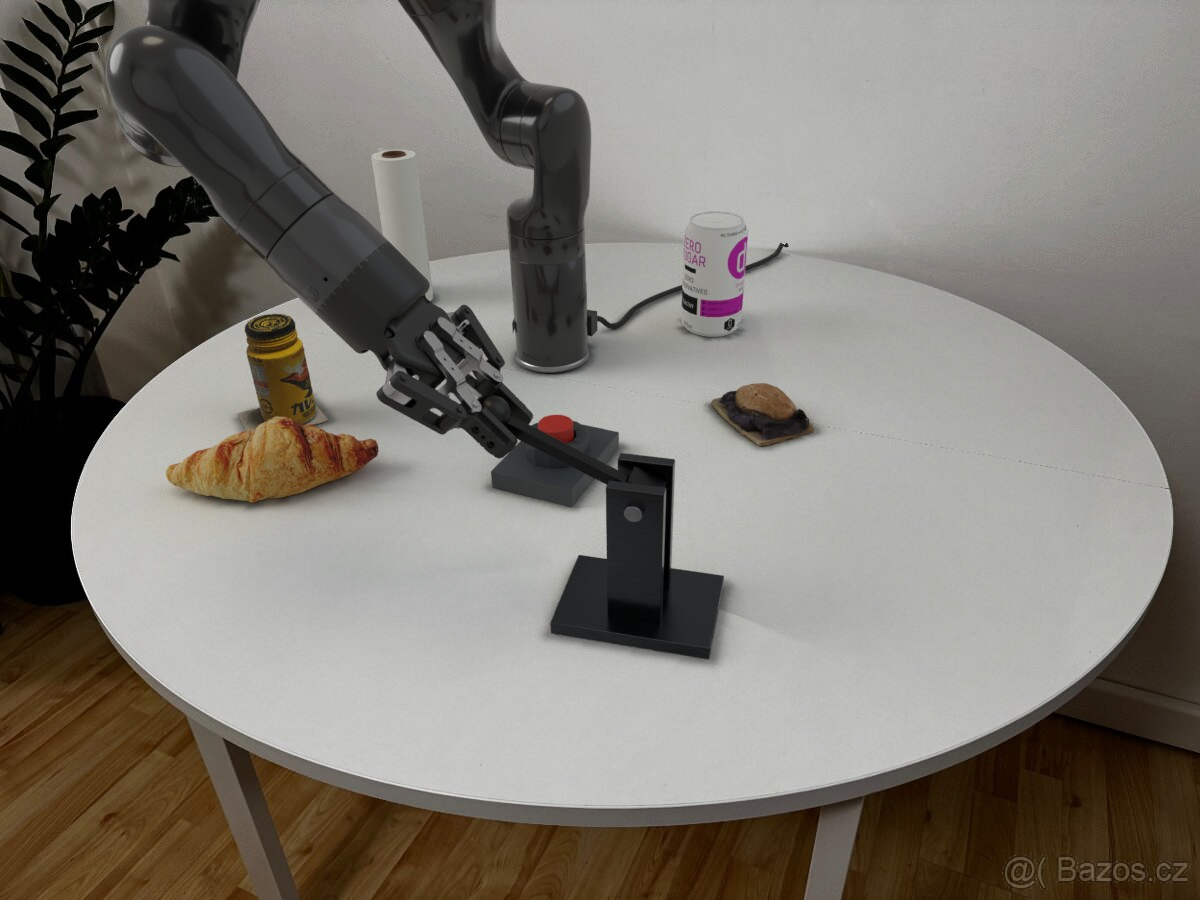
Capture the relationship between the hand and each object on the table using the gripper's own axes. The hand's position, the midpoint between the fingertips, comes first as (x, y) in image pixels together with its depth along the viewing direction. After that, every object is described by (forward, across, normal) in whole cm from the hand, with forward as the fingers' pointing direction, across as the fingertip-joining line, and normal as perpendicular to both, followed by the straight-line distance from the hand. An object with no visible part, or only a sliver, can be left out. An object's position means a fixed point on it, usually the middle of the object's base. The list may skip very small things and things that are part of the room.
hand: (516, 437), depth 69 cm
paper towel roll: (-15, +59, +37) cm, 71 cm away
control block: (+9, +20, +13) cm, 25 cm away
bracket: (+18, 0, +4) cm, 18 cm away
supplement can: (+17, +58, +6) cm, 61 cm away
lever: (+4, 0, -1) cm, 4 cm away
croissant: (-10, +11, +33) cm, 36 cm away
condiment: (-15, +22, +38) cm, 46 cm away
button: (+6, +20, +11) cm, 23 cm away
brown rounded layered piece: (+23, +34, -1) cm, 41 cm away
